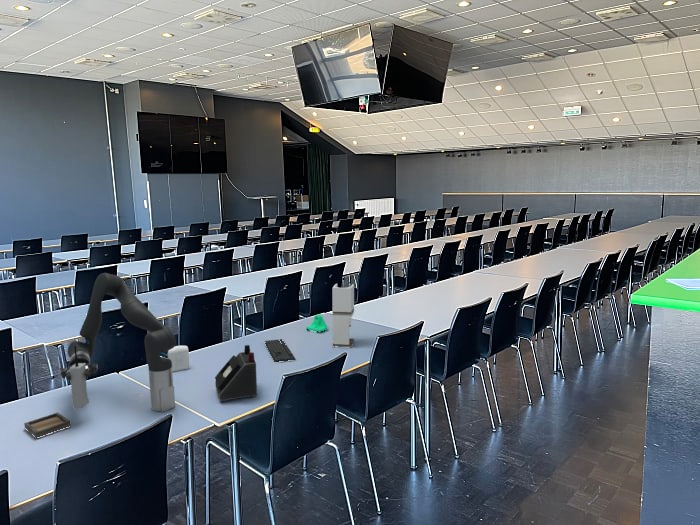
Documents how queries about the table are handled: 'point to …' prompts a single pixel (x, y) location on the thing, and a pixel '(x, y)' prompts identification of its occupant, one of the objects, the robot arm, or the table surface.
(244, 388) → the voltmeter
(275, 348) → the keyboard
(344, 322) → the tall grey pillar
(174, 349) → the photo printer
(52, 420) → the brown square tray
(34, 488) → the table surface
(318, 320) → the green draped cloth
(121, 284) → the robot arm
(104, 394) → the table surface
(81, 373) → the vintage mobile phone
